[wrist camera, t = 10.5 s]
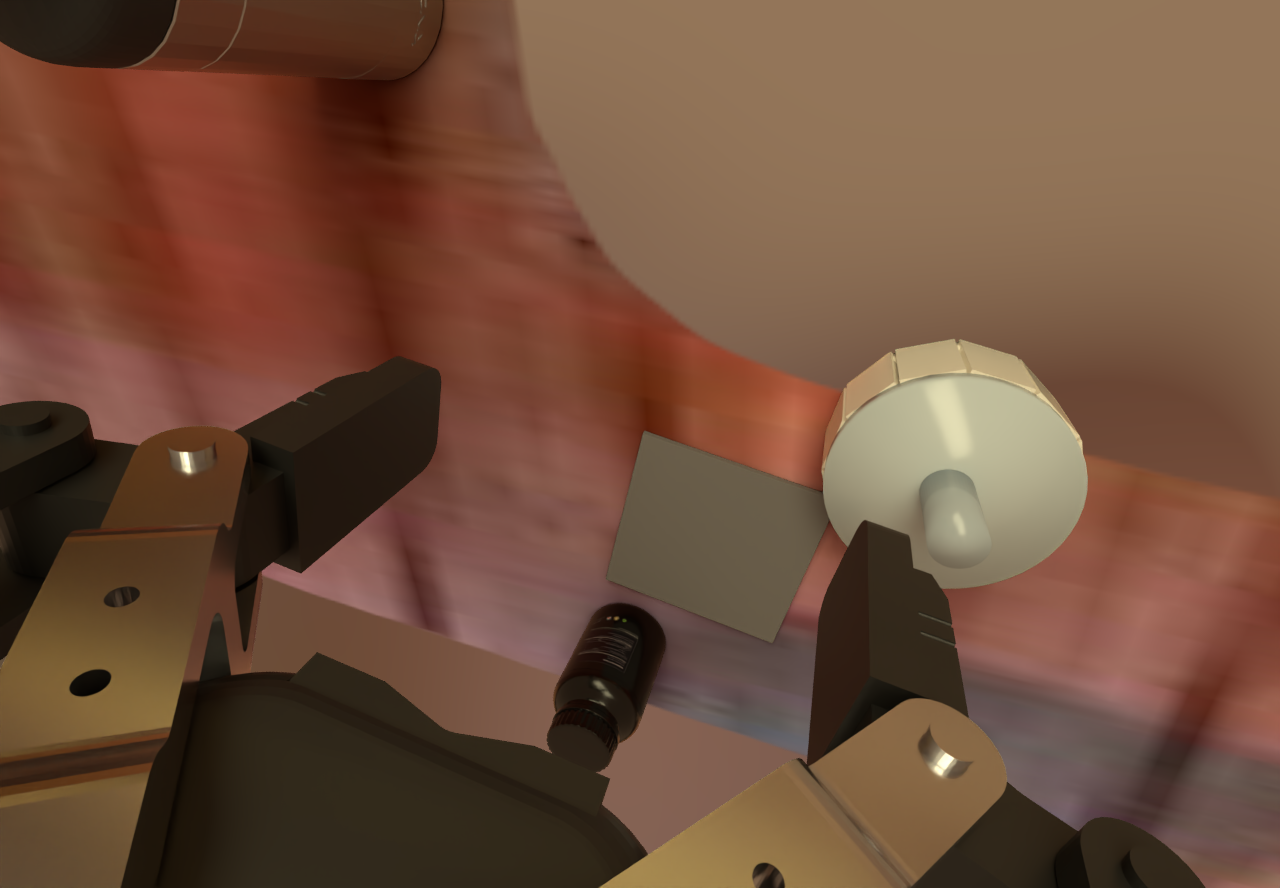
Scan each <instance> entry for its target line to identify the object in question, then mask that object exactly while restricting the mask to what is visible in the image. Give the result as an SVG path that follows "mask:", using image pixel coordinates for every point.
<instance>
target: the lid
mask: <svg viewBox="0 0 1280 888" xmlns="http://www.w3.org/2000/svg"><path fill="white" fill-rule="evenodd" d="M1087 482H1088V476H1087V469H1086V462H1085V459H1084V456H1083V453H1082V450H1081V448H1080V446H1079V444H1078V442H1077V440H1076V438H1075V436H1074V434H1073V433H1072V431H1071V430H1070V428H1069V427H1068V425H1067V424H1066V423H1065V421H1064V420H1063V419H1062V417H1061V416H1060V415H1059V414H1058V413H1057V412H1056V411H1055V410H1054V409H1053V408H1052V407H1051V406H1050V405H1049V404H1048V403H1047V402H1045V401H1044V400H1043V399H1041V398H1040V397H1038V396H1037V395H1036V394H1034V393H1032V392H1030V391H1029V390H1027V389H1025V388H1023V387H1021V386H1019V385H1017V384H1014V383H1011V382H1008V381H1006V380H1003V379H999V378H995V377H991V376H987V375H980V374H972V373H942V374H933V375H927V376H923V377H918V378H914V379H911V380H908V381H905V382H902V383H899V384H896V385H894V386H892V387H890V388H888V389H886V390H884V391H882V392H880V393H878V394H877V395H875V396H874V397H872V398H871V399H869V400H867V401H866V402H865V403H864V404H863V405H861V406H860V407H859V408H858V409H857V410H855V411H854V413H853V414H852V415H851V416H850V417H849V418H848V419H847V420H846V421H845V422H844V424H843V425H842V427H841V428H840V429H839V431H838V432H837V434H836V436H835V438H834V440H833V442H832V444H831V446H830V449H829V452H828V455H827V457H826V463H825V468H824V477H823V495H824V503H825V507H826V510H827V514H828V517H829V519H830V521H831V523H832V525H833V528H834V529H835V531H836V532H837V534H838V536H839V537H840V539H841V540H842V541H843V542H844V543H845V545H846V546H847V547H848V546H849V544H850V542H851V540H852V538H853V536H854V534H855V532H856V530H857V528H858V527H859V525H860V524H861V522H862V521H864V520H867V521H870V522H873V523H876V524H879V525H882V526H885V527H888V528H890V529H893V530H896V531H899V532H902V533H905V534H908V535H909V537H910V541H911V550H912V559H913V568H915V569H918V570H921V571H924V572H927V573H929V574H932V576H933V577H934V579H935V580H936V582H937V583H938V585H939V586H940V588H969V587H978V586H983V585H988V584H993V583H996V582H999V581H1003V580H1006V579H1009V578H1011V577H1013V576H1016V575H1018V574H1021V573H1023V572H1025V571H1026V570H1028V569H1030V568H1032V567H1034V566H1035V565H1037V564H1038V563H1040V562H1041V561H1043V560H1044V559H1045V558H1047V557H1048V556H1049V555H1051V554H1052V553H1053V552H1054V551H1055V550H1056V549H1057V548H1058V547H1059V546H1060V545H1061V544H1062V543H1063V542H1064V540H1065V539H1066V538H1067V537H1068V536H1069V534H1070V533H1071V531H1072V530H1073V528H1074V527H1075V525H1076V523H1077V522H1078V520H1079V517H1080V515H1081V512H1082V510H1083V507H1084V504H1085V499H1086V495H1087Z"/></svg>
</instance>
